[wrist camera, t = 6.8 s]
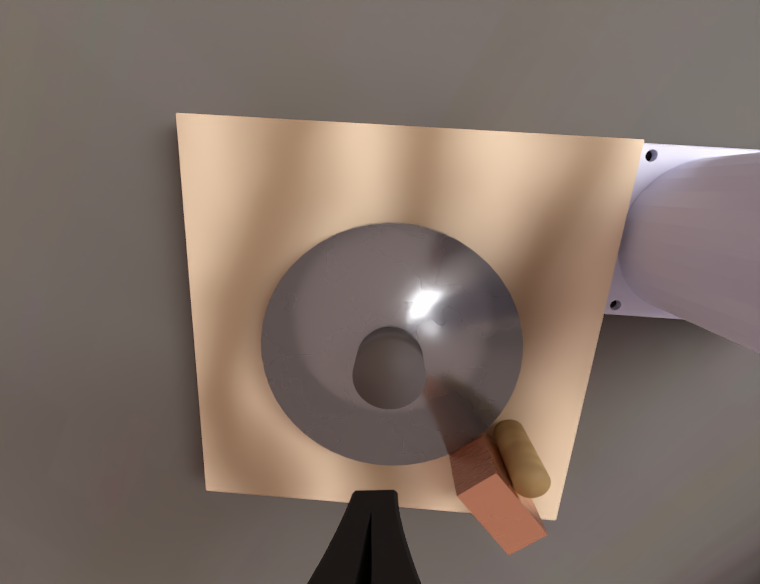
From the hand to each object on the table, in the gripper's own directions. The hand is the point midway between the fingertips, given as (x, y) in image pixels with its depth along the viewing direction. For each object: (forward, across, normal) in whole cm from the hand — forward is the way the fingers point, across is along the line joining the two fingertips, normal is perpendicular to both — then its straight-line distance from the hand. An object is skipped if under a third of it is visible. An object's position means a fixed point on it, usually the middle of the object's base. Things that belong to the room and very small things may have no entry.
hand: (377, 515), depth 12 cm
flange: (+7, -2, -1) cm, 8 cm away
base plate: (+9, 0, -2) cm, 10 cm away
